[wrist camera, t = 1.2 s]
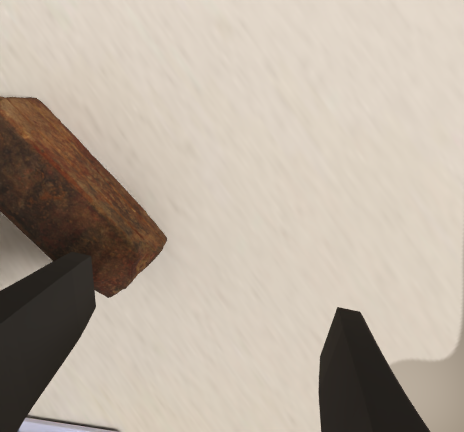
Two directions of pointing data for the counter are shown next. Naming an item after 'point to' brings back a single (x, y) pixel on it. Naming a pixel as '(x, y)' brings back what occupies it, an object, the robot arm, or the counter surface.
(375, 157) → the counter surface
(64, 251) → the brick
